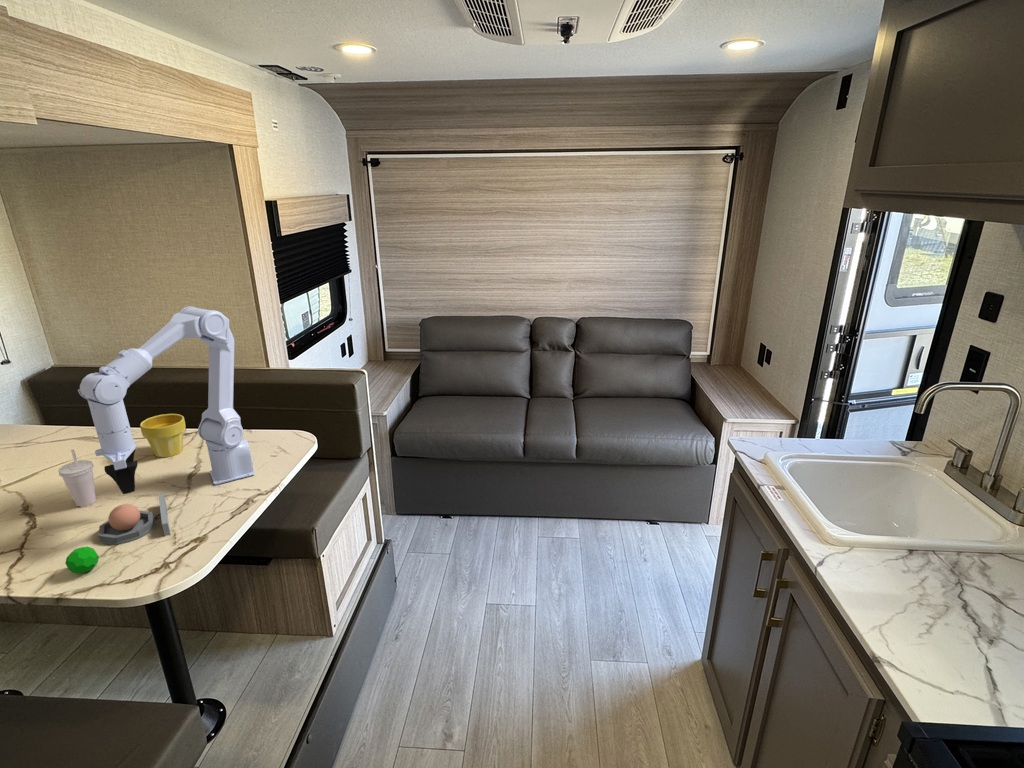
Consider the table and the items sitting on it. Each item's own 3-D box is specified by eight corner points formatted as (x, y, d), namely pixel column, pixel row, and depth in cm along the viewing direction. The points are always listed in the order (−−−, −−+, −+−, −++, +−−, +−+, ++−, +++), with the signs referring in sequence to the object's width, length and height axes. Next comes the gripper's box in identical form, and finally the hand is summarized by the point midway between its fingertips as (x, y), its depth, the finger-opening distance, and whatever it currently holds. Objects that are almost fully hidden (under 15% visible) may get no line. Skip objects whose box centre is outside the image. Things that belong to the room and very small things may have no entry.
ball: (142, 517, 120) (136, 496, 118) (143, 530, 115) (137, 507, 113) (112, 526, 117) (105, 504, 115) (111, 539, 112) (105, 516, 110)
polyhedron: (93, 577, 102) (86, 556, 100) (64, 580, 101) (57, 559, 99) (106, 560, 107) (100, 540, 105) (78, 563, 106) (71, 543, 104)
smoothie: (84, 511, 122) (68, 457, 117) (62, 508, 123) (44, 454, 118) (109, 497, 128) (95, 445, 123) (87, 493, 129) (72, 442, 124)
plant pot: (184, 440, 157) (177, 410, 153) (195, 452, 150) (188, 420, 147) (143, 451, 150) (135, 420, 146) (153, 464, 143) (145, 431, 140)
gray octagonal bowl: (154, 510, 123) (153, 505, 122) (157, 533, 115) (155, 527, 114) (99, 525, 117) (97, 519, 117) (97, 550, 109) (95, 544, 109)
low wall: (166, 504, 125) (163, 493, 124) (170, 534, 115) (167, 522, 114) (161, 505, 125) (158, 494, 124) (164, 536, 114) (162, 524, 113)
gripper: (90, 420, 115) (106, 475, 120) (88, 446, 104) (105, 505, 109) (130, 413, 119) (143, 466, 123) (131, 437, 108) (146, 495, 112)
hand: (128, 484), depth 116 cm, fingers open, 7 cm apart
